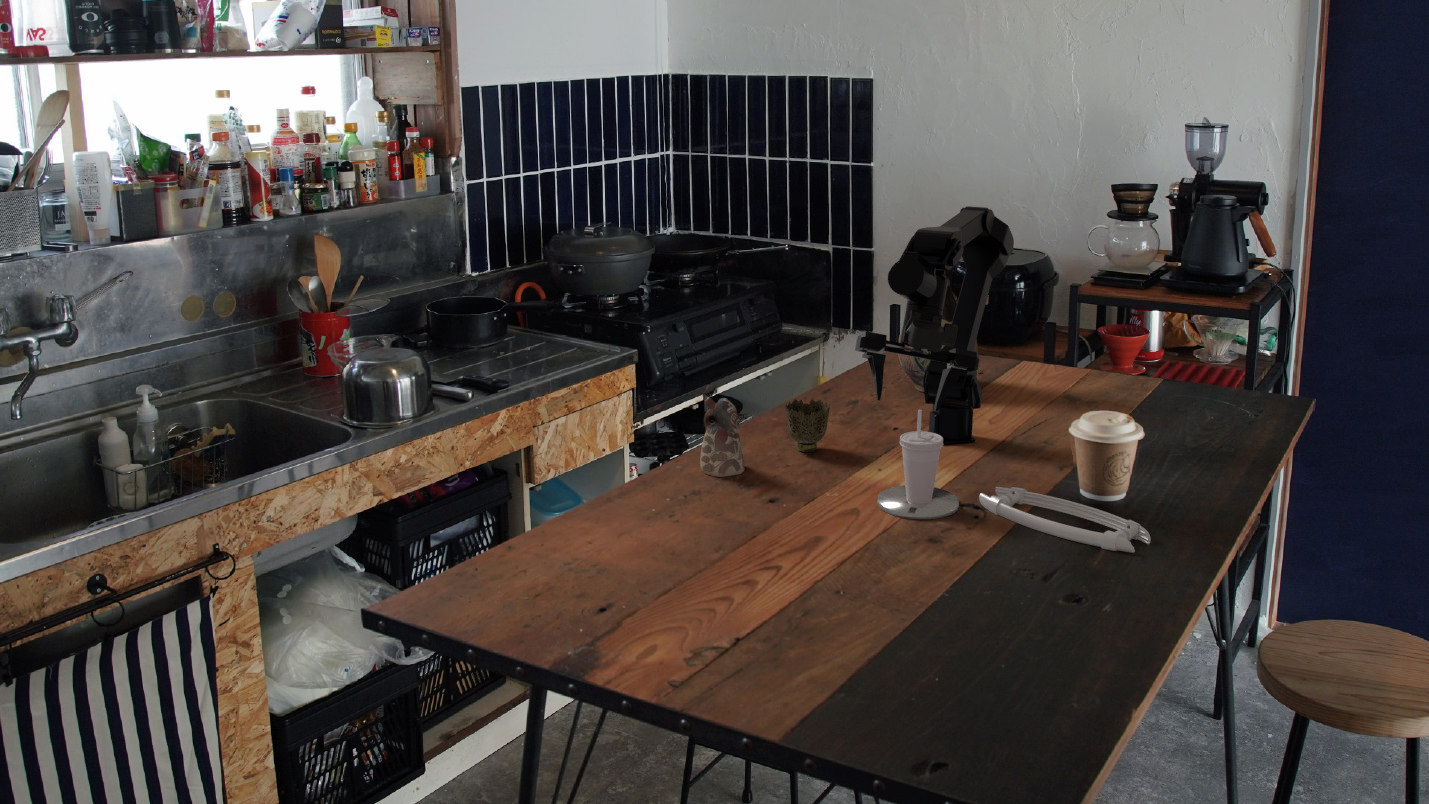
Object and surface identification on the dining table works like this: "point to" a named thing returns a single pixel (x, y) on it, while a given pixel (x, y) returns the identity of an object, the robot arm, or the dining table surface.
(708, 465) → the figurine
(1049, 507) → the door handle
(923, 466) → the smoothie
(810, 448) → the cup
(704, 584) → the dining table surface
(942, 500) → the pad
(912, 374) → the ceramic jug
